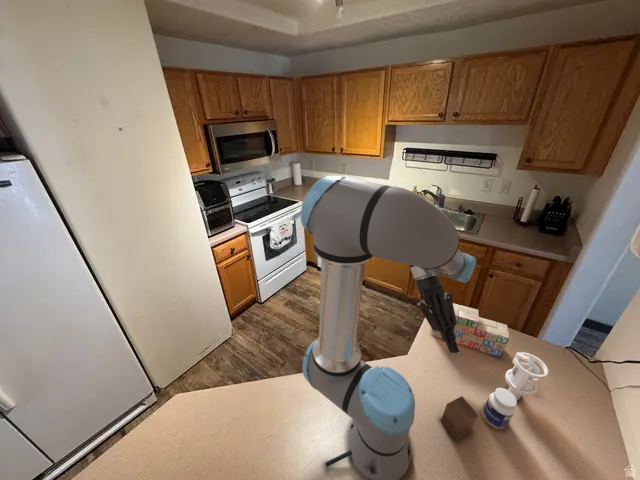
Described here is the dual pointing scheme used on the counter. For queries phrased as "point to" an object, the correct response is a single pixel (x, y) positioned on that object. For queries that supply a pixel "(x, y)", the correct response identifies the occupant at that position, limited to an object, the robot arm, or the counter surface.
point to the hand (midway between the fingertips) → (454, 352)
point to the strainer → (525, 375)
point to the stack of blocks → (478, 331)
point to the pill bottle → (499, 408)
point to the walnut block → (459, 417)
